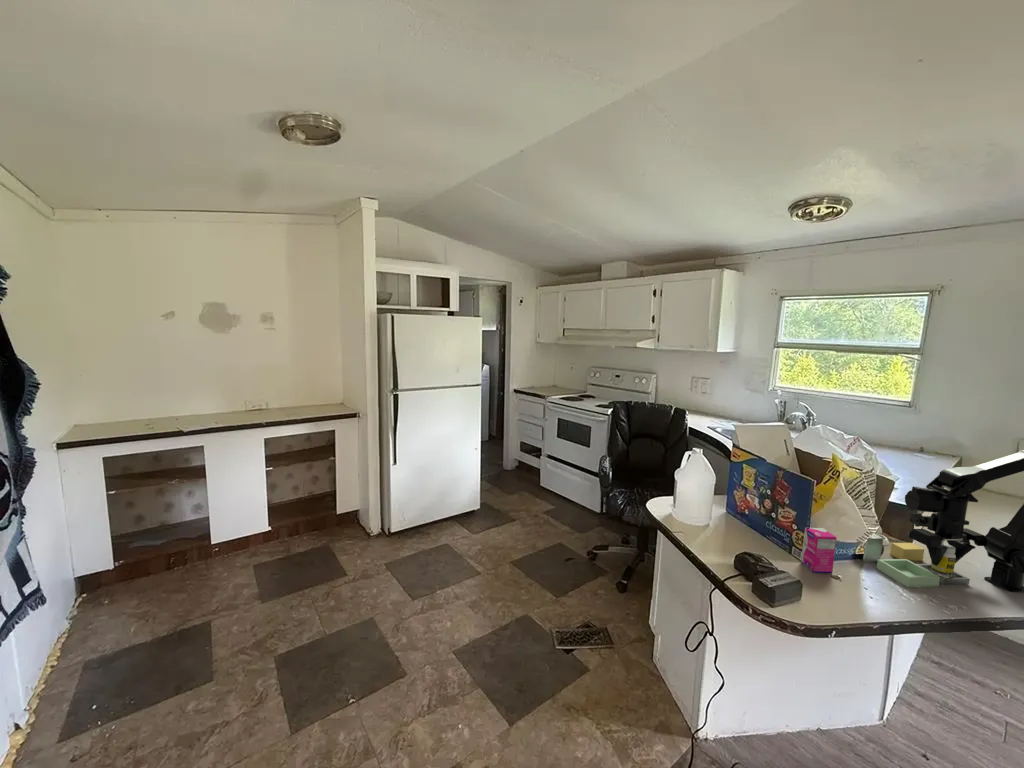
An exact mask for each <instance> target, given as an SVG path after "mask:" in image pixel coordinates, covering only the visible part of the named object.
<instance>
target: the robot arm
mask: <svg viewBox="0 0 1024 768" xmlns="http://www.w3.org/2000/svg"><path fill="white" fill-rule="evenodd" d="M1023 472H1024V449H1021V450H1018V452H1015V453H1012V454H1009V455H1006V456H1003V457H1000V458H996V459H994V460H990V461H987V462H983V463H980V464H977V465H972V466H957V467H950V468H949V467H948V468H944V469H942V470H940V472H939V474H938V475H937V476H936V477H934V479H933V480H932V481H930V482H929V483H927V485H926V486H925V487H920V486H912V487H911V490H908V491H907V493H906V494H905V495H904V502H905V505H906V507H907V509H909V510H910V511H914V512H911V513H910V516H909V522H910V523H911V524H912V525H913V524H914V526H915V528H912V529H909V531H908V535H907V536H908V538H910V540H911V539H912V540H913V541H916V542H917V543H920V544H922V545H924V546H926V549H927V551H928V555H929V558H930V560H931V561H932V564H933V565H935V566H937V565H938V564H939V563H940V561H941V559H942V557H943V556H944V554H945V552H946V551H947V549H948V547H946V546H943V543H945V541H946V543H947V544H948V545H951V546H953V547H955V548H956V550H955V555H956V560H955V564H956V563H958V561H960V560H961V559H962V558H963V557H965V556H966V554H968V553H970V552H971V551H972V550H974V549H976V546H977V547H984V550H985V551H986V554H987V557H989V558H991V559H993V560H995V561H993V566H992V568H991V575H990V576H984V577H983V579H985V580H986V581H988V582H990V583H992V584H994V585H997V586H999V587H1000V588H1002V589H1004V590H1006V591H1007V592H1008V591H1009V592H1013V593H1014V592H1016V593H1017V592H1019V591H1020V592H1024V503H1023V504H1022V505H1021V507H1019V509H1018V510H1017V512H1016V513H1015V514H1014V516H1013V517H1012V518H1011V519H1010V521H1009V522H1008V523H1007V525H1006V526H1004V527H1000V528H996V527H995V526H992V527H990V528H989V531H988V532H987V533H986V534H985V535H984V534H981V533H979V532H977V531H974V530H972V529H970V528H966V527H965V526H970V520H966V517H967V512H968V506H969V503H970V502H971V503H978V502H979V500H978V498H976V497H975V496H974V495H973V493H975V492H977V491H979V490H981V489H983V488H984V486H985V485H986V484H987V483H990V482H993V481H995V480H999V479H1002V478H1006V477H1009V476H1012V475H1015V474H1019V473H1023ZM915 511H916V512H915ZM917 512H918V513H917ZM919 512H925V513H931V514H930V515H923V514H922V513H919ZM917 527H918V528H917ZM919 527H922V528H919ZM923 527H924V528H923ZM925 528H927V529H925ZM971 541H973V543H974V545H973V544H971Z"/></svg>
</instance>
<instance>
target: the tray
mask: <svg viewBox="0 0 1024 768" xmlns="http://www.w3.org/2000/svg"><path fill="white" fill-rule="evenodd" d="M917 564H918V563H914V562H913V561H909V560H907V559H898V558H894V559H893V558H890V559H888V558H887V559H886V558H885V559H884V558H882V559H881V558H880V559H878V562H877V563H876V570H878V571H879V572H881V573H882V574H885V575H886V576H888V577H890V578H891V579H893V580H894V581H896V582H898V583H900V584H901V585H903V586H905V588H906V587H907V588H938V587H939V584H940V583H939V580H940V577H939V576H940V575H939V576H937V575H938V574H937V575H935V574H936V573H935V574H934V573H932V572H930V571H928V570H926V569H924V568H922V567H920V566H919V565H917Z"/></svg>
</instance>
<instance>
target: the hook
mask: <svg viewBox="0 0 1024 768" xmlns="http://www.w3.org/2000/svg"><path fill="white" fill-rule="evenodd" d="M876 535H878V536H880V537H882V538H883V544H882V545H883V546H889V545H890V541H889V539H888V537H886V535H883V530H882V527H881V526H880V525H879V529H878V531H877V533H876Z"/></svg>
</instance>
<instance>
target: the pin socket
mask: <svg viewBox="0 0 1024 768" xmlns="http://www.w3.org/2000/svg"><path fill="white" fill-rule="evenodd" d="M916 564H917V565H919V566H920V567H922V568H924V569H926V570H928V571H930V572H932V571H931V570H930V567H931V563H916ZM932 573H934V572H932ZM934 574H935V575H937V576H939V577H940V580H939V584H940V585H942V586H969V585H970V581H971V580H970V578H968V577H966V576H965V575H962V574H960V573H959V572H957V571H955V570H954V571H953V576H952V577H944V576H941V575H938V574H936V573H934Z"/></svg>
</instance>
